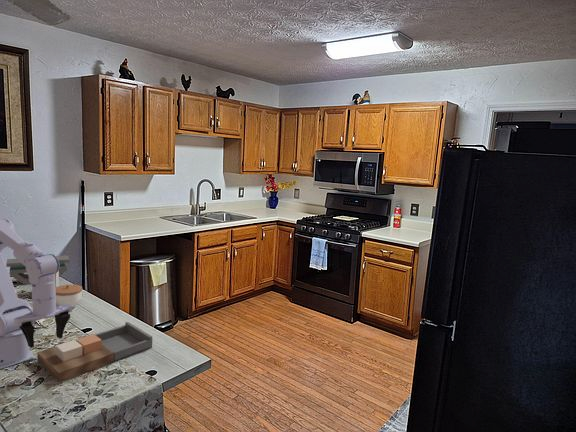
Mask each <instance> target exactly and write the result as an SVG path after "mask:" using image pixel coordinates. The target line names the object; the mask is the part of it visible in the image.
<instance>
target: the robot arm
mask: <svg viewBox="0 0 576 432" xmlns="http://www.w3.org/2000/svg"><path fill="white" fill-rule="evenodd" d="M6 247H8V248H10V249H11V250H12V251H13V253H12V254H13V257H14V259H18V260H19V261H20V262H21V263H22V264H23V265H25V266H26V271H27V273H26V274H28V276H29V281H30V283H31V284H30V285H31V302H32V305H30V303H29V301H27V300H25V299H22V298H19V297H18V294H17V292H16V291H17V290H16V289H15V287H14V283H13V281H12V277H11V276H10V271H9V269H8V267H6V262H5V259H4V257H3V253H2V251H3V249H5V248H6ZM56 256H57V255H55V254H53V253H45V252H44V251H42V250H41V249H40V248H39V247H38V246H36V245H35V244H34V242H32V241H25V240H24V239H23V238H21V236H20V235H19V234H17V232H16V229H15V225H14V223H13V222H12V221H11V220H10V219H8V218H3V219H0V370H1V369H5V368H8V367H11V366H13V365H18V364H21V363H24V362H27V361H30V360H33V359H35V355H34V354H32V353H31V352H30V349H33V348H34V347H35V339H34V336H35V335H34V334H35V333H34V332H35V327H36V326H34V325H35V323H36V321H38V320H40V319H44V318H45V319H51V318H53V317H54V320H55V325H56V328H55V329H56V330H55V335H56V337H57V338H59V339H62V338H63V335H64V332H65V328H66V326H67V323H68V322H69V320H70V318H71V314H70V313H72V312H73V308H72V305H70V304H67V305H62V306H57V305H56V291H55V273H57V272H58V271H59V268H60V264H59V260H58V258H57V257H56ZM31 307H33V309H32V308H31ZM45 319H44V320H45Z"/></svg>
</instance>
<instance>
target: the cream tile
mask: <svg viewBox="0 0 576 432" xmlns="http://www.w3.org/2000/svg"><path fill="white" fill-rule="evenodd" d="M75 340H76V339H74V340H73V339H72V340H69V341H67V342H64V343H63V342H62V343H60V344H57V345H55V347H56V355H57V356H58V357H59V358H60V359H61V360H62V361H63V362H64V361H67V360H70V359H73V358H76V357H78V356H81V355H82V345H80V344H79V343H78V342H77V341H75Z"/></svg>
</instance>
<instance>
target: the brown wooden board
mask: <svg viewBox="0 0 576 432" xmlns="http://www.w3.org/2000/svg"><path fill="white" fill-rule="evenodd" d="M74 340H75V341H76V339H74ZM36 358H37V360H36V361H37V362H38V363H39V365H41V366H42V367H43V368H44V369H45V370H46V371H47V372H48V374H50V375H51V376H52V377H53V378H54V379H55V380H56V381H57V382H58V383H62V382H65V381H67V380H69V379H70V380H71V379H73V378H75V377H77V376H80V375H83V374H85V373H88V372H91V371H94V370H96V369H99V368H102V367H104V366H107V365H110V364H113V363H115V362H114V353H113V352H111V351H110V350H109V349H107V348H106V347H105V346H103V345H102V349H99V350H96V351H93V352H90V353H87V354H83V353H82V355H81V356H78V357H76V358H73V359H70V360H67V361H64V362H63V361H62V360H61V359H60V358H59V357H58V356H57V355H56V346H53V347H52V346H51V347H50V348H46V349H43V350H40V351H37V352H36ZM109 363H110V364H109ZM106 364H107V365H106ZM103 365H104V366H103ZM101 366H102V367H101ZM98 367H99V368H98Z"/></svg>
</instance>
